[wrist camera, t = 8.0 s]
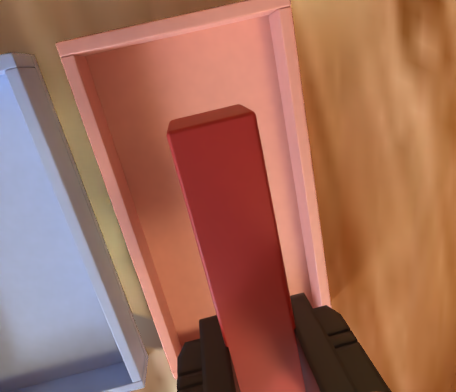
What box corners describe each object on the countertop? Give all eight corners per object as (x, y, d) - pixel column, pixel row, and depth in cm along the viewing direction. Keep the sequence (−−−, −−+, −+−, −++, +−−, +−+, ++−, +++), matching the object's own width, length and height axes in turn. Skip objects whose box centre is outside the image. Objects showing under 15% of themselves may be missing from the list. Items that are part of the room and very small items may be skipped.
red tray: (71, 46, 17) (54, 42, 15) (275, 0, 18) (289, -10, 15) (174, 349, 24) (174, 380, 22) (321, 311, 24) (335, 337, 22)
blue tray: (-182, 102, 17) (-241, 107, 14) (34, 54, 17) (11, 52, 15) (-4, 396, 24) (-25, 432, 21) (148, 356, 24) (144, 387, 22)
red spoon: (102, 136, 8) (82, 152, 7) (305, 87, 9) (335, 91, 7) (225, 494, 13) (232, 557, 11) (355, 457, 13) (381, 513, 12)
